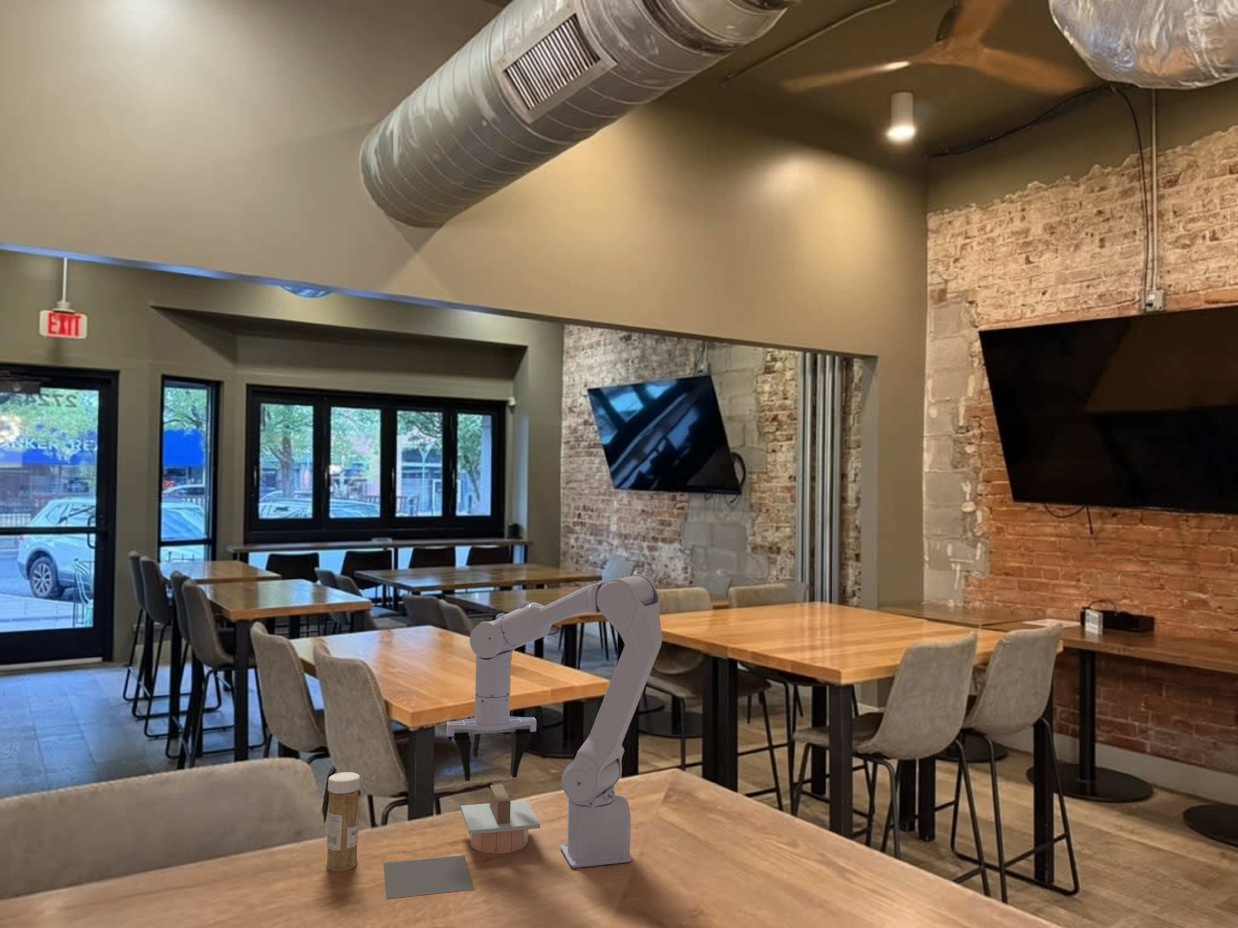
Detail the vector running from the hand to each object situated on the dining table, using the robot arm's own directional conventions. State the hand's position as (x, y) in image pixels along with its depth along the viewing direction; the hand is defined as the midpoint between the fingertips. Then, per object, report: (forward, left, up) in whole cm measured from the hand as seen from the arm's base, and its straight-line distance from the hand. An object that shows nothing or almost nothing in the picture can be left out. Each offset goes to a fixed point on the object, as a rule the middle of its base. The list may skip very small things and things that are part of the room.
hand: (490, 777), depth 145 cm
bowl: (-1, +4, -9) cm, 10 cm away
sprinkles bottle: (+23, +7, -10) cm, 26 cm away
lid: (-1, +4, -5) cm, 7 cm away
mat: (+11, +14, -9) cm, 20 cm away
